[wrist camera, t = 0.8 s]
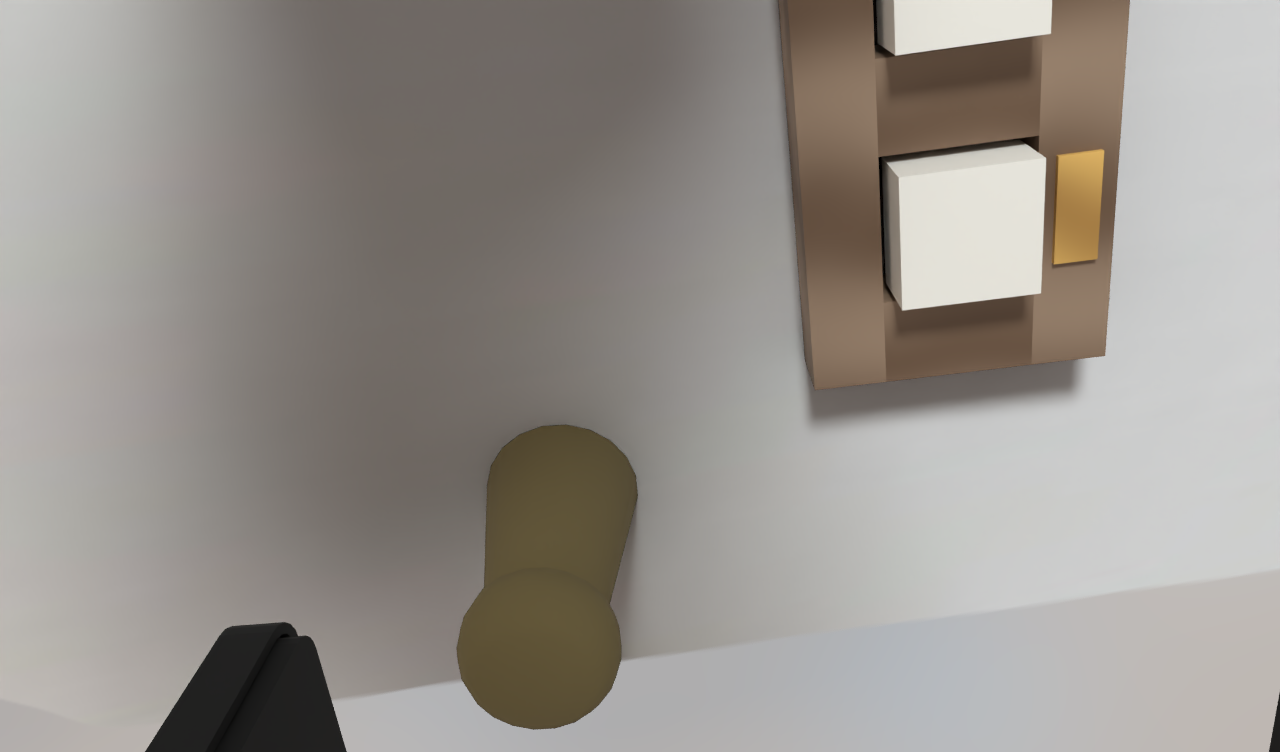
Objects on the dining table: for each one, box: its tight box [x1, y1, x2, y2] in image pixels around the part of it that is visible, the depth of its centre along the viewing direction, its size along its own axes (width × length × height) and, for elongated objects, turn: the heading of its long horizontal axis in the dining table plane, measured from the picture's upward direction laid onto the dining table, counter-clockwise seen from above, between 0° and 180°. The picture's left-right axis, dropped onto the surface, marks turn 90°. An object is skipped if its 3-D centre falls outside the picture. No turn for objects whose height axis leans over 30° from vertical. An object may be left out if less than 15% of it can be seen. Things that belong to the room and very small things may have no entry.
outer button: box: [882, 139, 1046, 311], centre depth 33 cm, size 4×4×2 cm
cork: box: [457, 425, 638, 729], centre depth 35 cm, size 6×6×11 cm
